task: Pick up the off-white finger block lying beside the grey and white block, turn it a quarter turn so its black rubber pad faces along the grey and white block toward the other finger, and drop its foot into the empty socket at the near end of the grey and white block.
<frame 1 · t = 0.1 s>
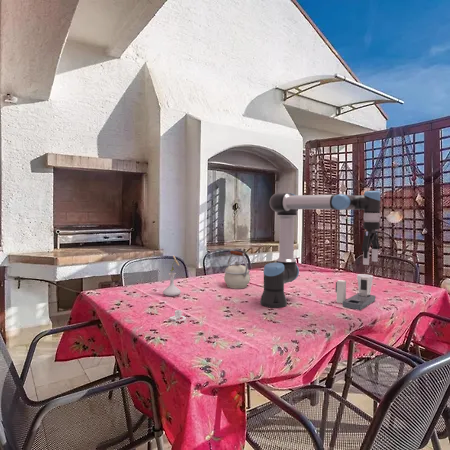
hand: (370, 263, 171), 28 cm above the table, tool pointing down, fingers open, 13 cm apart
kettle: (235, 286, 240), on the table
flower in vase: (172, 294, 215), on the table
grey and white block: (359, 303, 197), on the table
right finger: (341, 302, 199), on the table
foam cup: (364, 295, 216), on the table
teacup and saucer: (172, 319, 169), on the table
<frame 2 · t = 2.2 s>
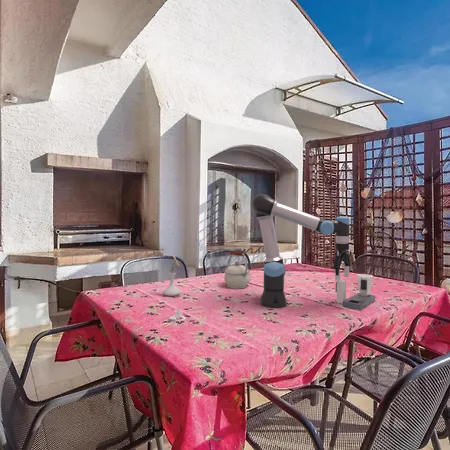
hand: (342, 278, 198), 14 cm above the table, tool pointing down, fingers open, 13 cm apart
nothing on the table moved.
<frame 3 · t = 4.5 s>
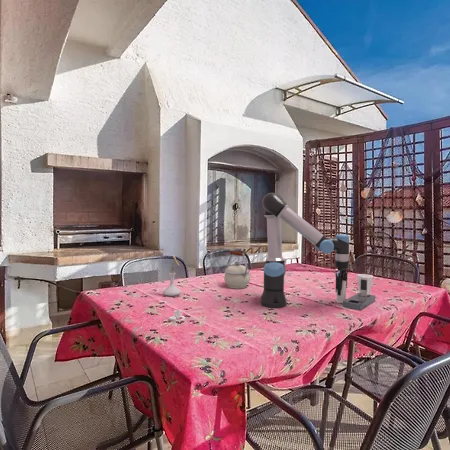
hand: (341, 299, 199), 2 cm above the table, tool pointing down, fingers closed on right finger, 4 cm apart
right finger: (341, 302, 199), on the table, touching gripper
everything else where it was.
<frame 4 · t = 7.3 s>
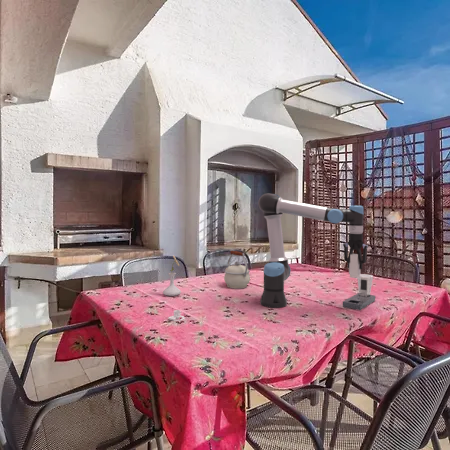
hand: (354, 274, 189), 19 cm above the table, tool pointing down, fingers closed on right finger, 4 cm apart
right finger: (354, 277, 189), point 17 cm above the table, touching gripper
everything else where it was.
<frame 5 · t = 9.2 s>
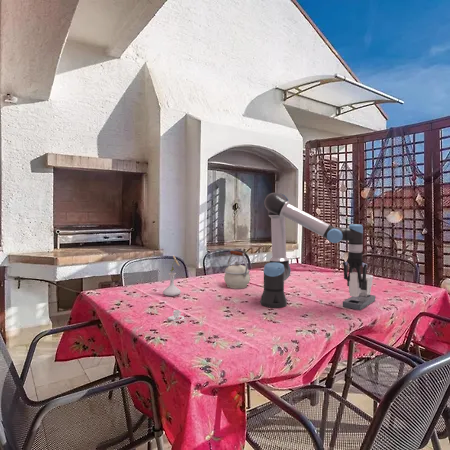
hand: (354, 292, 190), 8 cm above the table, tool pointing down, fingers closed on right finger, 4 cm apart
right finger: (354, 295, 190), point 6 cm above the table, touching gripper
everything else where it was.
when the fingers open (4 cm above the table, at t = 10.6 s): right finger drops 1 cm, resting on grey and white block.
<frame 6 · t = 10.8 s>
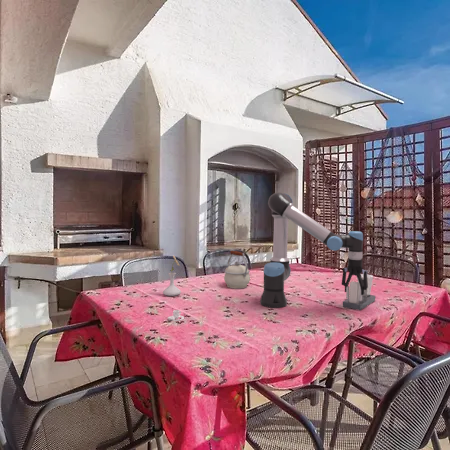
hand: (354, 299, 190), 4 cm above the table, tool pointing down, fingers open, 7 cm apart
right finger: (353, 305, 190), point 1 cm above the table, touching grey and white block
everything else where it was.
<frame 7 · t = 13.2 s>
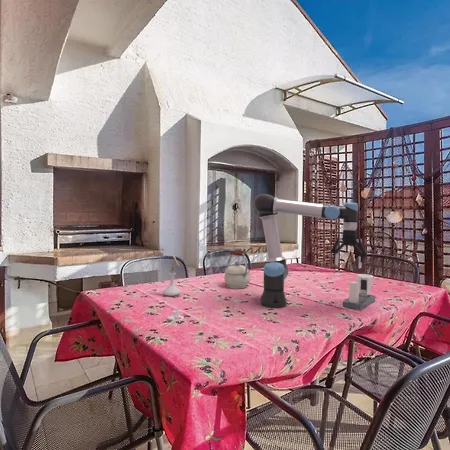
hand: (348, 266, 193), 22 cm above the table, tool pointing down, fingers open, 13 cm apart
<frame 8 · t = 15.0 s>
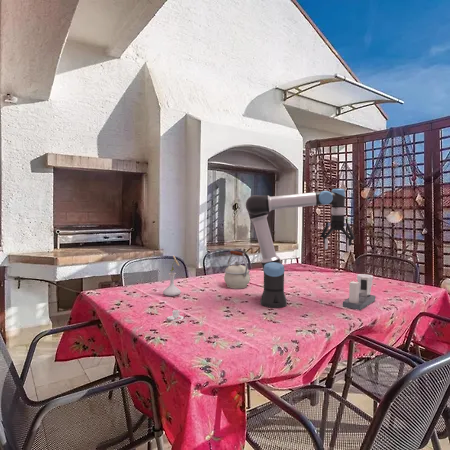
hand: (337, 250, 202), 31 cm above the table, tool pointing down, fingers open, 13 cm apart
at the end: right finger 0.1 cm from the target spot on the grey and white block, point 1.0 cm above the grey and white block's base; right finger tilted 0°; the gripper is holding nothing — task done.
